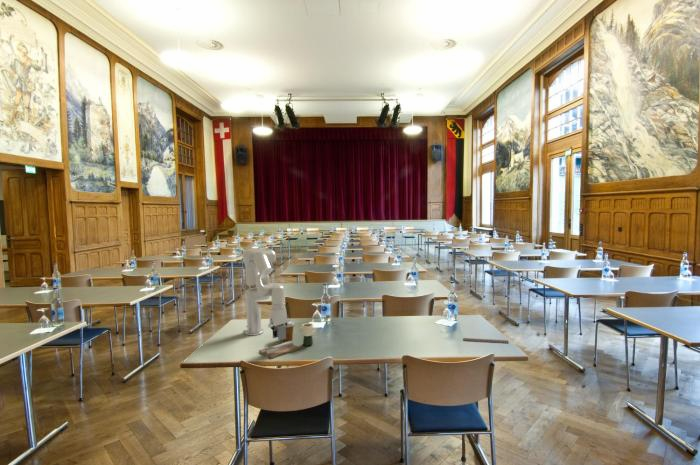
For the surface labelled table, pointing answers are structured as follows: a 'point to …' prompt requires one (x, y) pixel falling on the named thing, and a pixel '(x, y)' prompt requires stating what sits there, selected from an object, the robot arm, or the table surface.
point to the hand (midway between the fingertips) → (279, 335)
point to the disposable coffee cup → (289, 331)
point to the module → (281, 332)
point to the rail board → (281, 352)
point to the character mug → (307, 333)
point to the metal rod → (485, 340)
